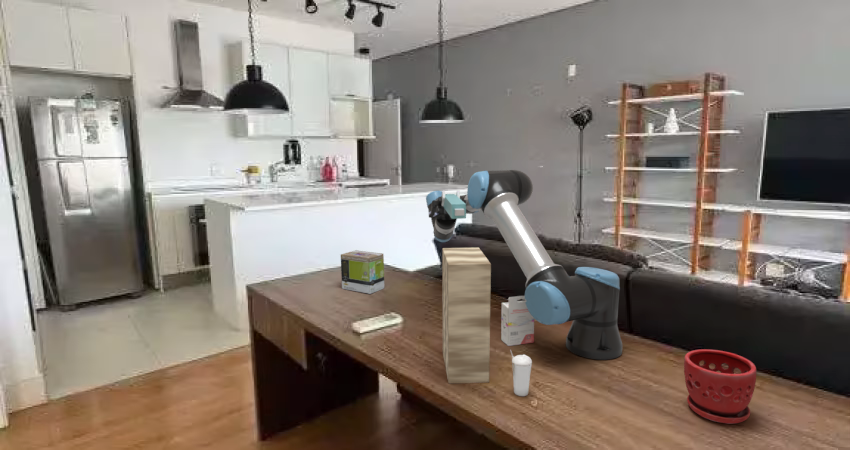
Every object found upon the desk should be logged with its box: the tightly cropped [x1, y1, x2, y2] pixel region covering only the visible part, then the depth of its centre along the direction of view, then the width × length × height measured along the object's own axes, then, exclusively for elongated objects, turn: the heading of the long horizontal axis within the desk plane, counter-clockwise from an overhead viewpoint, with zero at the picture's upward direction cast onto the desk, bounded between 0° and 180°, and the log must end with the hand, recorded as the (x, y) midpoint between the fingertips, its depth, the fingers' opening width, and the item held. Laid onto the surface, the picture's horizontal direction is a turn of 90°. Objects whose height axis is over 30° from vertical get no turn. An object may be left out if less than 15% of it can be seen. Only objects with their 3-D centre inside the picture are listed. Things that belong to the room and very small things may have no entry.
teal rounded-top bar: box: [443, 193, 467, 220], centre depth 145 cm, size 33×4×4 cm, turn 3°
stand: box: [441, 247, 492, 384], centre depth 122 cm, size 18×10×30 cm, turn 3°
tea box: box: [340, 249, 385, 295], centre depth 192 cm, size 15×10×15 cm, turn 58°
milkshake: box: [509, 349, 533, 397], centre depth 111 cm, size 4×5×10 cm
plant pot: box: [683, 348, 757, 425], centre depth 102 cm, size 13×13×12 cm
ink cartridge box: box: [500, 295, 535, 347], centre depth 139 cm, size 9×5×15 cm, turn 105°
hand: (451, 194), depth 152 cm, fingers closed on teal rounded-top bar, 4 cm apart
